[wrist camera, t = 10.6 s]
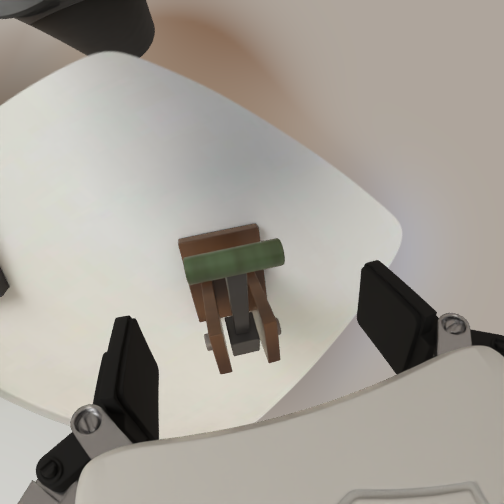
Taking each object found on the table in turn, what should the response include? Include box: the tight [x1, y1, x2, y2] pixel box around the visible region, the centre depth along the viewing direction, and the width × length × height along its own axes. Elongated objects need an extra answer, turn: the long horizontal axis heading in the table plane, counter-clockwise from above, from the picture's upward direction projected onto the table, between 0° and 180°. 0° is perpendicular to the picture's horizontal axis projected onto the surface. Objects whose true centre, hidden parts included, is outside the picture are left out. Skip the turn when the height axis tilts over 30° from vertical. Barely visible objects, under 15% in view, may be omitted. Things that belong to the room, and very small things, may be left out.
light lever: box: [183, 238, 285, 356], centre depth 19 cm, size 12×5×2 cm, turn 8°
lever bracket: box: [178, 224, 281, 374], centre depth 27 cm, size 10×8×12 cm
